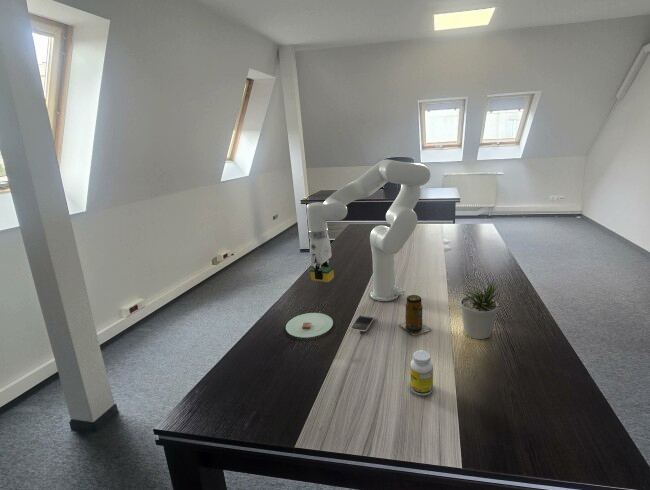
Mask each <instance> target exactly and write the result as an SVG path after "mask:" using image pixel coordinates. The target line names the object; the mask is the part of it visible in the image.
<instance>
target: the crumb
mask: <svg viewBox="0 0 650 490" xmlns="http://www.w3.org/2000/svg"><path fill="white" fill-rule="evenodd" d="M310 328H311V323H303V326H302V329H310Z"/></svg>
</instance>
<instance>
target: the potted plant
mask: <svg viewBox="0 0 650 490" xmlns="http://www.w3.org/2000/svg"><path fill="white" fill-rule="evenodd" d="M479 283H480V284H481V286H482V289H483V291H482V290H480V289H479V288H477V287H476V286H471V288H472V290H470V289H469V291H465V293H462V294H463V295H465V296H464V297H462V298H461V299H460V300H459V307H460V310H461V318H462V324H463V331H464V333H465V335H467V336H468V337H469V338H472V339H475V340H486V339H487V338H490V336H491V335H492V331H493V328H494V324H495V321H496V316H497V313H498V311H499V308H500V307H501V305H499V303H498V302H497V300H498V299H499V298H500V296H498V297H497V298H496V296H497V295H499V292H496V293H495V291H496V289H497V288H498V285H496V283H494V281H492V282H489V281H488V282H487V287H486V288H485V286H484V284H483V283H482V282H481V281H479ZM494 298H496V299H495V300H494Z"/></svg>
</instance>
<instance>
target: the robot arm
mask: <svg viewBox="0 0 650 490" xmlns="http://www.w3.org/2000/svg"><path fill="white" fill-rule="evenodd" d="M430 179H431V170H430V168H429V167H428V166H426V165H425V164H422V163H415V162H405V161H400V160H395V159H394V160H393V159H382V160H380V161H378V162H376V164H375V165H373V166H372V167H371V168H369V169H368V170H367V171H365V172H364V173H363V174H362V175H360V176H359V177H358V178H356V179H355V180H353V181H351V182H349V183H346V185H344V186H342V187H339V189H337V190H336V191H334V192H333V193H332V194H330V196H328V197H327V198H326V199H325V200H324V201H323V202H322V201H321V202H319V201H317V202H311V203H308V204H307V205H306V216H307V219H306V220H307V227H308V237H309V238H308V239H309V256H310V258H309V259H310V268H311V269H312V268H313V269H314V271H315V279H319V280H322V279H323V275H322V270H321V266H324V267H330V259H331V258H332V254H333V253H332V247H331V246H332V245H331V239H330V237H329V227H328V222H339V221H342V220H345V218H346V217H347V215H348V207H347V205H349V204H351V203H352V202H354V201H356V200H357V201H358V200H362V199H366V198H368V197H371V196H372V195H373V194H375V193H376V192H377V191H378V190H379V189H381V188H382V187H383V186H385V184H387V183H392V184H395V185H396V184H397V185H400V190H399V193H398V194H397V196H396V198H395V199H394V201H393V202H392V204H391V205H390V207H389V208H388V209H387V212H386V213H385V220H386V222H387V224H389V225H390V227H388V226H386V225H383V224H382V225H381V224H380V225H375V227H374V228H372V230H371V232H370V234H369V244H370V248H371V249H370V250H371V256H372V257H371V258H372V283H373V286H372V287H373V289H372V290H371V291H370V292H369V294H370V295H369V296H370V298H372V299H373V300H374V301H378V302H391V301H394V300H395V299H397V298H399V295H400V296H405V290H404V288H399V287H398V284H396V270H395V269H396V268H395V267H396V264H395V263H396V261H395V259H396V258H395V255H396V254H398V253H399V252H400V251H401V250H402V249H403V248H404V246H405V244H406V243H407V241H408V240H409V239H410V237H411V236H412V234H413V232H414V231H415V229H416V228H417V225H418V214H417V213H416V211H414V209H415V207H416V205H417V204H418V202H419V199H420V197H421V187H422V186H424V185H426V184H427V183H428V182H429V181H430ZM318 266H319V267H318Z"/></svg>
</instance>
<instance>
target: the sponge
mask: <svg viewBox="0 0 650 490" xmlns="http://www.w3.org/2000/svg"><path fill="white" fill-rule="evenodd" d="M317 266H318V267H319V265H317ZM321 270H322V275H323V279H322V280H319V279H315V271H314V269H313V268H312V267H311V269H310V270H309V272H310V281H315V282H323V283H329V282H331V281H332V280H333V279H334V278H335V275H334V273H335V272H334V267H333V266H329V267H324V266H321Z"/></svg>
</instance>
